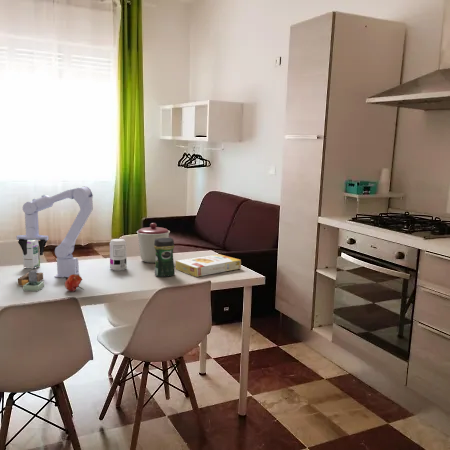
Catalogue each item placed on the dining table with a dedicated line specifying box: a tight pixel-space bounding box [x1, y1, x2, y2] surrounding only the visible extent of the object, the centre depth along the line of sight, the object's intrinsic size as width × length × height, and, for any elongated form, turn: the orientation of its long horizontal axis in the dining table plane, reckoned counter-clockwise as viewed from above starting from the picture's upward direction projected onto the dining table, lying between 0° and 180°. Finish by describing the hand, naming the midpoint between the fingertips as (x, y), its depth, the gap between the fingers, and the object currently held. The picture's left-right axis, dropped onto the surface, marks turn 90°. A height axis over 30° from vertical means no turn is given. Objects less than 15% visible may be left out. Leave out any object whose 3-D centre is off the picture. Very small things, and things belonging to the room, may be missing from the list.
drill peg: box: [28, 270, 38, 286], centre depth 206 cm, size 3×3×7 cm
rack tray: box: [22, 281, 45, 292], centre depth 206 cm, size 6×6×2 cm
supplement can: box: [109, 238, 128, 271], centre depth 242 cm, size 8×8×15 cm
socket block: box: [17, 272, 44, 286], centre depth 216 cm, size 7×11×3 cm, turn 0°
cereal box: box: [174, 253, 242, 278], centre depth 245 cm, size 20×6×28 cm
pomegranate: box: [63, 274, 85, 293], centre depth 204 cm, size 7×7×10 cm
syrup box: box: [22, 240, 41, 269], centre depth 241 cm, size 6×6×14 cm
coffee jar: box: [153, 237, 176, 278], centre depth 231 cm, size 10×8×19 cm
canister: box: [136, 222, 171, 264], centre depth 260 cm, size 18×18×21 cm
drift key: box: [21, 279, 29, 287], centre depth 213 cm, size 3×6×3 cm, turn 0°
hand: (33, 254), depth 227 cm, fingers open, 7 cm apart
